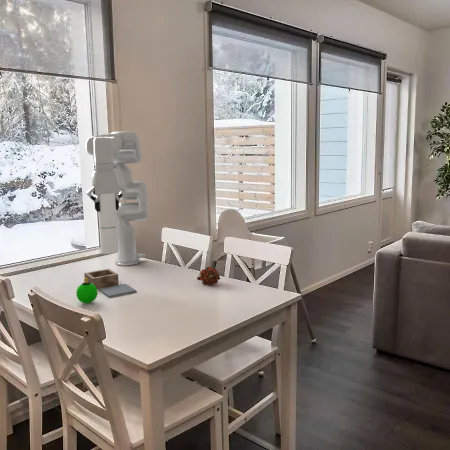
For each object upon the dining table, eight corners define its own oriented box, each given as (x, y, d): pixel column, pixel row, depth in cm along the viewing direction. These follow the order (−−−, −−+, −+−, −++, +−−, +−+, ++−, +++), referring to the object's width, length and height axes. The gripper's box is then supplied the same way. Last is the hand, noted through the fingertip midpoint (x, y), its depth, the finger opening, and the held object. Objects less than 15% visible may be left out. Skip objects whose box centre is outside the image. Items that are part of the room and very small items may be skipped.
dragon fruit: (216, 291, 203) (201, 289, 213) (228, 277, 206) (213, 275, 216) (204, 278, 200) (190, 276, 210) (216, 263, 203) (202, 262, 213)
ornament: (76, 307, 183) (74, 282, 181) (77, 300, 190) (75, 276, 189) (98, 305, 185) (96, 280, 183) (98, 298, 192) (96, 274, 191)
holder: (109, 279, 220) (108, 268, 219) (118, 285, 210) (118, 274, 209) (85, 283, 213) (84, 272, 212) (93, 289, 204) (92, 278, 203)
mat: (125, 285, 210) (125, 283, 209) (136, 292, 200) (136, 290, 200) (99, 290, 203) (98, 288, 203) (108, 297, 193) (108, 295, 193)
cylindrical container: (120, 250, 205) (117, 192, 200) (115, 253, 198) (111, 193, 193) (104, 250, 206) (101, 192, 201) (98, 253, 199) (94, 194, 194)
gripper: (121, 166, 203) (123, 207, 206) (80, 168, 194) (83, 211, 197) (128, 167, 197) (130, 209, 200) (86, 169, 188) (89, 213, 191)
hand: (107, 210), depth 199 cm, fingers closed on cylindrical container, 7 cm apart
